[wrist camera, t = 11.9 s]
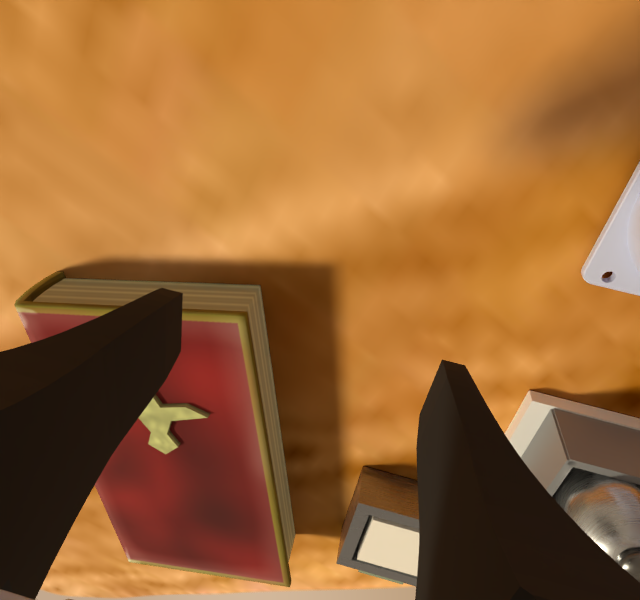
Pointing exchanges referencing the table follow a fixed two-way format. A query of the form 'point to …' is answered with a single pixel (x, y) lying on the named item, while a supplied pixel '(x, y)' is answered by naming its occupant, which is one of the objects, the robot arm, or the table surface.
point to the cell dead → (605, 514)
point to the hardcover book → (192, 433)
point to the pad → (390, 545)
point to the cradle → (383, 502)
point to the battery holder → (574, 440)
